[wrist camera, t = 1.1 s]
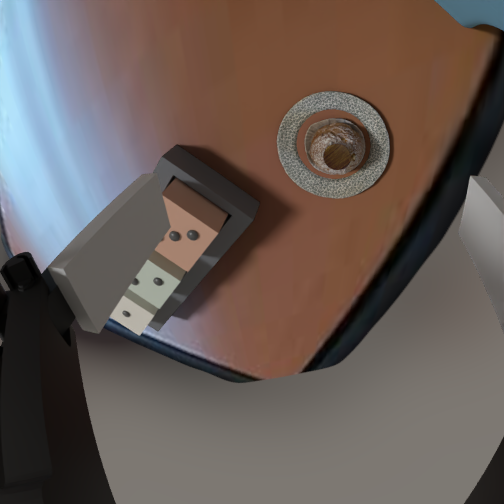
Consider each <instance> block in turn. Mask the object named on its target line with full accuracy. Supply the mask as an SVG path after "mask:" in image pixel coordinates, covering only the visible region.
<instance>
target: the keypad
mask: <svg viewBox="0 0 504 504" xmlns="http://www.w3.org/2000/svg"><path fill="white" fill-rule="evenodd" d="M153 173H157V175H158V179H159V183H160V187H161V191H162V192H163V191H164V190H165V189H166V188H167V187H168V186H169V185H170V184H171V183H172V182H173V181H174V179H175V178H178V179H179V180H180V181H182V182H183V183H185V184H186V185H188V186H189V187H191V188H192V189H194V190H195V191H197V192H198V193H199V194H201V195H202V196H204V197H205V198H207V199H208V200H210V201H211V202H212V203H214V204H215V205H217V206H218V207H220V208H221V209H223V210H224V211H225V212H227V213H228V215H227V217H226V219H225V221H224V223H223V225H222V227H221V229H220V231H219V233H218V235H217V236H216V237H215V238H214V240H213V241H212V242H211V243H210V245H209V246H208V247H207V248H206V250H205V251H204V252H203V253H202V255H201V256H200V257H199V259H198V260H197V261H196V262H195V264H194V265H193V266H192V267H191V269H190V270H189V271H188V272H187V271H186V272H185V274H184V276H183V278H182V280H181V282H180V283H179V284H178V286H177V287H176V288H175V289H174V291H173V292H172V293H171V295H170V296H169V297H168V299H167V300H166V301H165V302H164V304H163V305H162V306H161V308H160V309H159V308H158V310H157V312H156V314H155V316H154V317H153V318H152V320H151V321H150V322H149V324H148V326H150V327H152V328H153V329H155V330H156V331H159V330H160V329H161V327H162V326H163V325H164V324H165V323H166V321H167V320H168V319H169V318H170V317H171V316H172V314H173V313H174V312H175V311H176V310H177V308H178V307H179V306H180V305H181V304H182V303H183V301H184V300H185V299H186V298H187V297H188V295H189V294H190V293H191V292H192V291H193V290H194V288H195V287H196V286H197V285H198V284H199V283H200V281H201V280H202V279H203V278H204V277H205V276H206V274H207V273H208V272H209V271H210V270H211V269H212V267H213V266H214V265H215V264H216V263H217V262H218V261H219V259H220V258H221V257H222V256H223V255H224V254H225V252H226V251H227V250H228V249H229V248H230V247H231V245H232V244H233V243H234V242H235V241H236V240H237V239H238V237H239V236H240V235H241V234H242V233H243V232H244V231H245V229H246V228H247V227H248V226H249V225H250V224H251V223H252V221H253V220H254V218H255V215H256V212H257V210H258V207H259V204H260V202H258V201H257V200H256V199H254V198H253V197H251V196H250V195H249V194H247V193H246V192H244V191H243V190H242V189H240V188H239V187H237V186H236V185H234V184H233V183H232V182H230V181H229V180H227V179H226V178H225V177H223V176H222V175H220V174H219V173H217V172H216V171H214V170H213V169H212V168H210V167H209V166H207V165H206V164H204V163H203V162H201V161H200V160H199V159H197V158H196V157H194V156H193V155H191V154H190V153H188V152H187V151H185V150H184V149H182V148H181V147H179V146H178V145H175V146H174V147H173V148H172V149H170V150H169V151H168V152H167V153H165V154H164V155H163V156H162V157H161V159H160V161H159V162H158V164H157V166H156V168H155V170H154V172H153Z"/></svg>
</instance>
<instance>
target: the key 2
mask: <svg viewBox="0 0 504 504" xmlns="http://www.w3.org/2000/svg"><path fill="white" fill-rule="evenodd" d="M185 272H186V271H185V270H184V269H182V268H181V267H179V266H178V265H176V264H175V263H173V262H172V261H170V260H169V259H167V258H166V257H164V256H163V255H161V254H160V253H158V252H157V251H155V250H154V251H153V253H152V254H151V256H150V257H149V258H148V260H147V261H146V263H145V264H144V266H143V267H142V269H141V270H140V271H139V273H138V274H137V276H136V277H135V279H134V280H133V282H132V283H131V285H130V286H129V288H128V289H130V290H131V291H133V292H134V293H136V294H137V295H139V296H140V297H142V298H143V299H145V300H146V301H148V302H149V303H151V304H152V305H154V306H155V307H157V308H159V309H160V308H161V306H162V305H163V304H164V302H165V301H166V300H167V299H168V297H169V296H170V295H171V293H172V292H173V291H174V289H175V288H176V287H177V286H178V284H179V283H180V282H181V280H182V278H183V276H184V274H185Z"/></svg>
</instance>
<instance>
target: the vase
mask: <svg viewBox="0 0 504 504" xmlns="http://www.w3.org/2000/svg"><path fill="white" fill-rule="evenodd" d="M435 1H436V2H437V3H438V4H439V5H440V6H441V7H442V8H444V9H445V10H446V11H447V12H448V13H449V14H450V15H451V16H452V17H453V18H454V19H455V20H456V21H457V22H459V23H460V24H461V25H462V26H464V27H467V28H472V27H475V26H477V25H479V24H488V25H492V26H494V27H497V28H499V29H501V30H503V31H504V0H435Z"/></svg>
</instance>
